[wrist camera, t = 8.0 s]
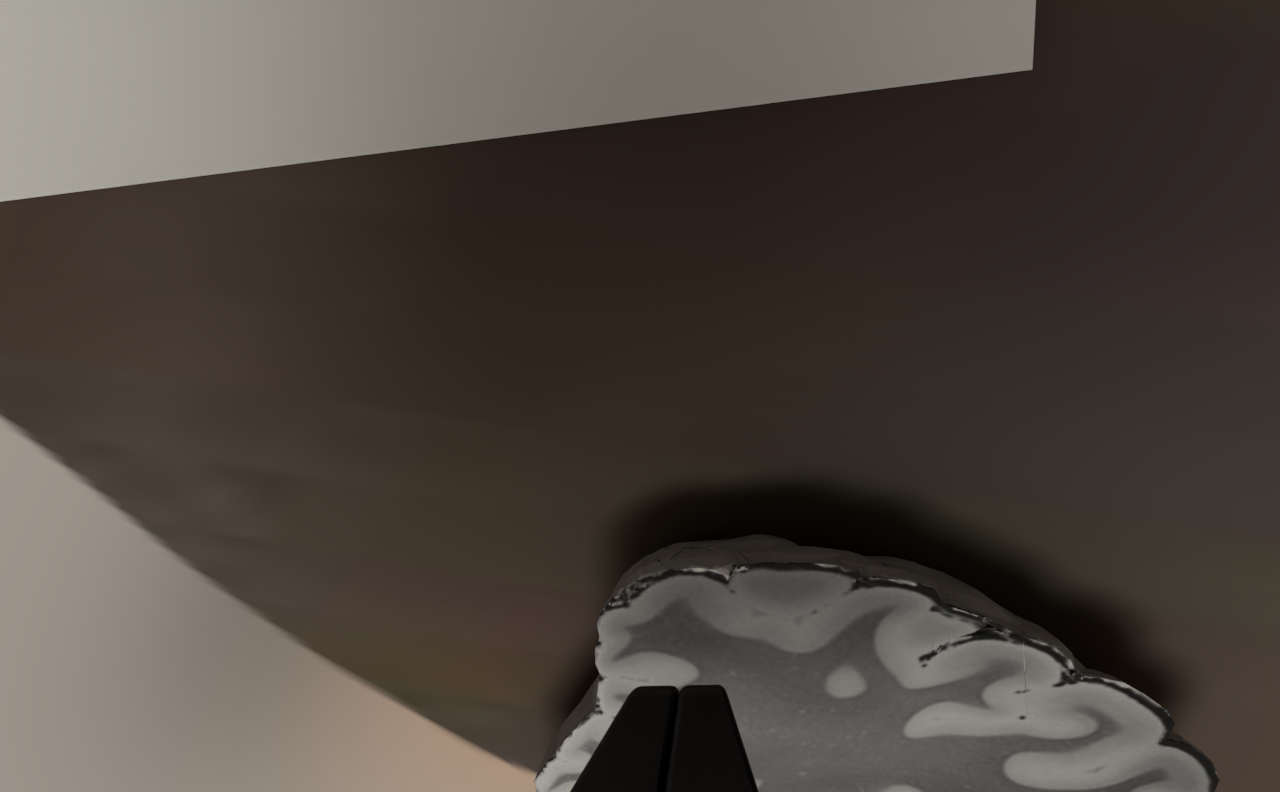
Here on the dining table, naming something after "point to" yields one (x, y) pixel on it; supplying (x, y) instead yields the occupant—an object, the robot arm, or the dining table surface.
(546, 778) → the brain slice
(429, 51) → the grey mat
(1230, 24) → the dining table surface
